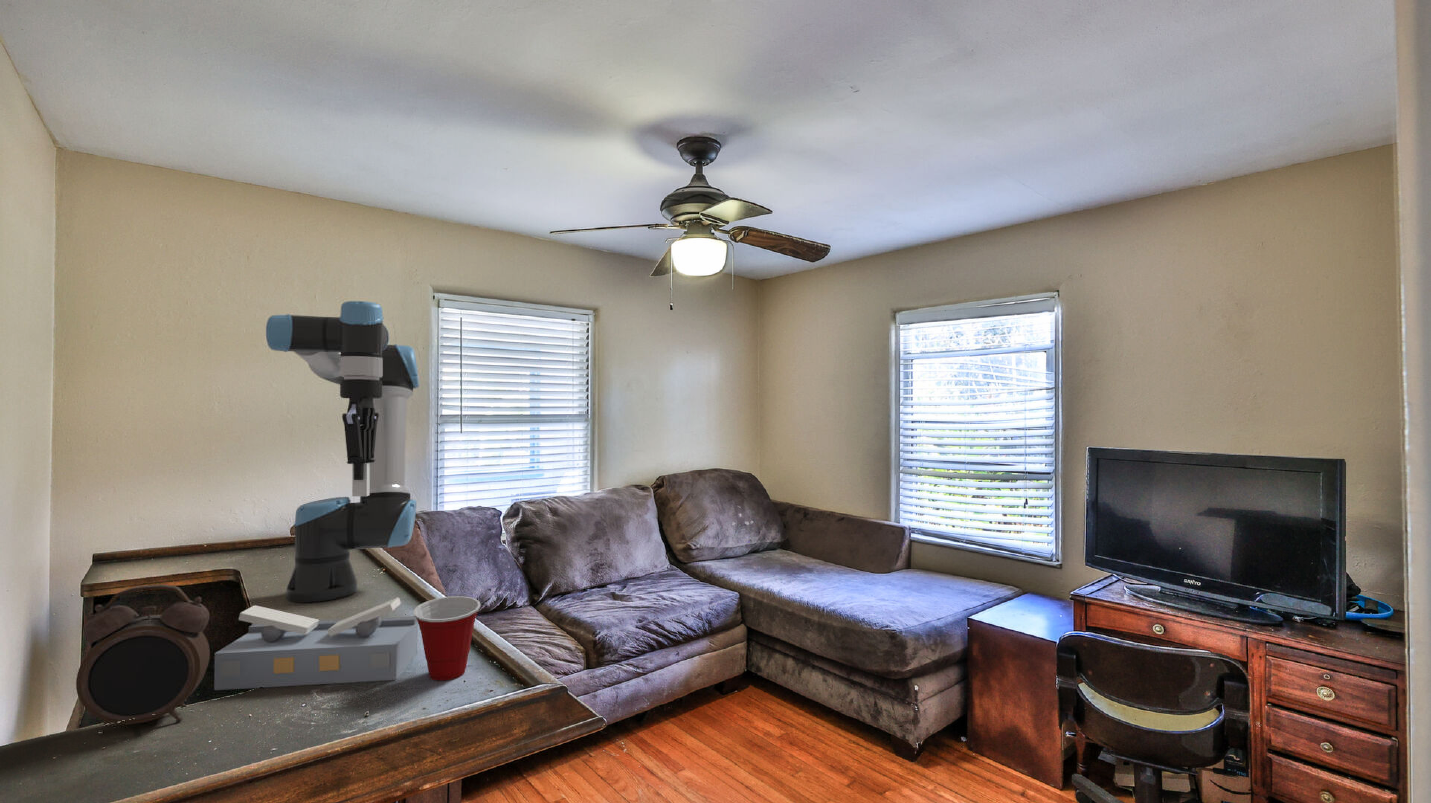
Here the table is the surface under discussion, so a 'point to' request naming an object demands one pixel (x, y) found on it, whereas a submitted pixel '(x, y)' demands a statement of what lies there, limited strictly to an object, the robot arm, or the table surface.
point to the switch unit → (317, 656)
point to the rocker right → (365, 619)
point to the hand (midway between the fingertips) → (360, 495)
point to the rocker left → (277, 622)
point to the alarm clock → (143, 659)
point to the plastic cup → (447, 634)
